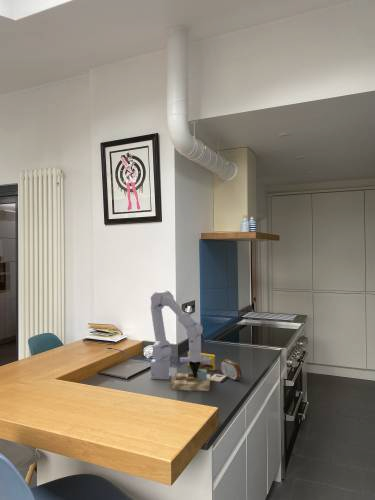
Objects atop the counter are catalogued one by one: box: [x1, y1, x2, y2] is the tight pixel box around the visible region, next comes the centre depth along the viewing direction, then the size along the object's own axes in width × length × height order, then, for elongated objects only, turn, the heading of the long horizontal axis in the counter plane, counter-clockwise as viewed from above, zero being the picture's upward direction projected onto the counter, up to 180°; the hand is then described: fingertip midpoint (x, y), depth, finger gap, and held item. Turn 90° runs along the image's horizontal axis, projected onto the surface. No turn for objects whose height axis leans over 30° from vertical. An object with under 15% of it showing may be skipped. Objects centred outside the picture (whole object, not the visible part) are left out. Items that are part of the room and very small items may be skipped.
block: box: [197, 368, 208, 381], centre depth 180 cm, size 4×4×4 cm
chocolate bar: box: [210, 368, 230, 384], centre depth 194 cm, size 9×1×18 cm
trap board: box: [170, 372, 212, 392], centre depth 181 cm, size 18×14×4 cm
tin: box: [220, 358, 243, 381], centre depth 191 cm, size 15×3×8 cm, turn 30°
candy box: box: [187, 351, 216, 371], centre depth 207 cm, size 16×2×8 cm, turn 62°
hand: (195, 377), depth 181 cm, fingers closed
